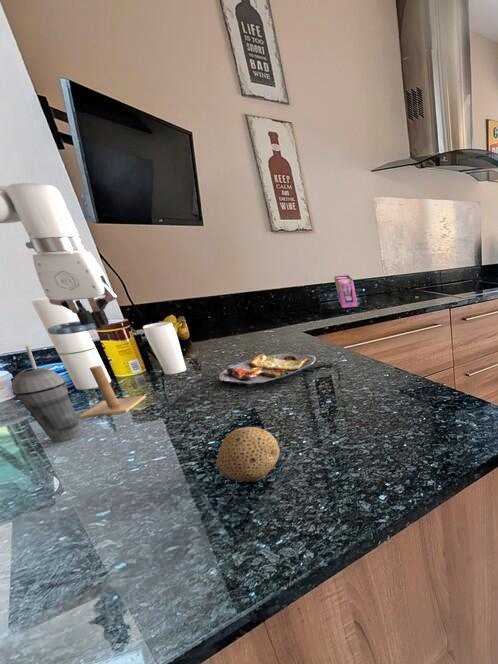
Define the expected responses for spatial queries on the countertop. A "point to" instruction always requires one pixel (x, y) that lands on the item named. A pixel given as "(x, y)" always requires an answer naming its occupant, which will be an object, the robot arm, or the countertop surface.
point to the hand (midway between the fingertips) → (97, 327)
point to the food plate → (266, 368)
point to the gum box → (345, 291)
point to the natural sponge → (247, 454)
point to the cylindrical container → (71, 344)
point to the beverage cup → (47, 401)
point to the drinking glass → (165, 346)
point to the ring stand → (109, 397)
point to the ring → (71, 328)
